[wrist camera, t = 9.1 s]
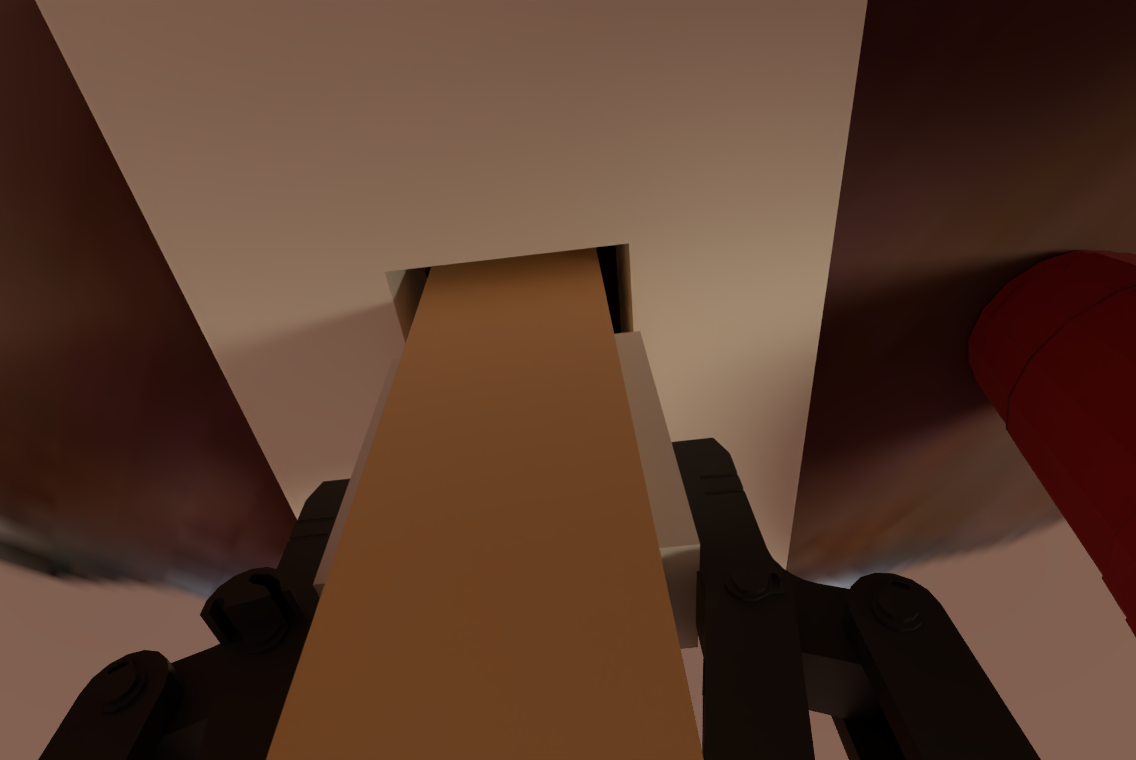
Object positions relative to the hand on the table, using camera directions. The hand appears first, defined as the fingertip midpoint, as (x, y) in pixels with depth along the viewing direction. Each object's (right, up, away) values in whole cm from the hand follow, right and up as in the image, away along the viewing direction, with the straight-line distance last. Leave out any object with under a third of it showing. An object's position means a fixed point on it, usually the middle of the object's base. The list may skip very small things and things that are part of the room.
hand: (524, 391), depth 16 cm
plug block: (0, +2, +3) cm, 3 cm away
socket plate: (0, +3, +5) cm, 5 cm away
